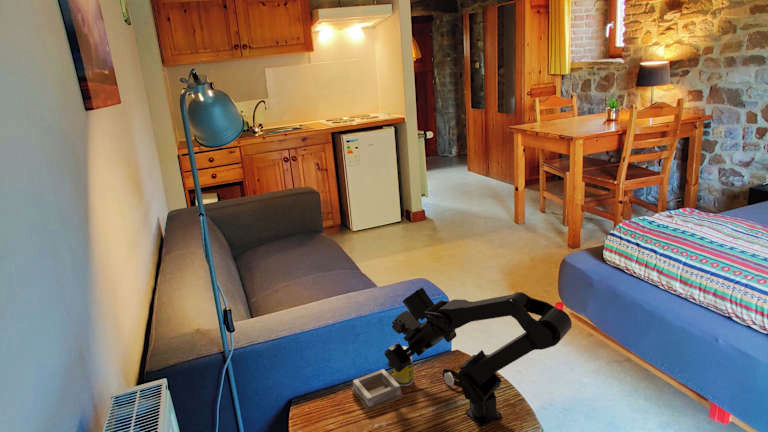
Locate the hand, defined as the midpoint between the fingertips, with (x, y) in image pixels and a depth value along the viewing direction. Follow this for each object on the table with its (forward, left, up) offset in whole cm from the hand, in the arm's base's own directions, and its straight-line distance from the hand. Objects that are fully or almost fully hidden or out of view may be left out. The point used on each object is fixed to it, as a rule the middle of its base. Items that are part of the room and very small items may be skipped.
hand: (399, 357), depth 135 cm
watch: (-9, -11, -7) cm, 16 cm away
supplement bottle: (-1, 0, -7) cm, 7 cm away
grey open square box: (-2, +9, -7) cm, 11 cm away
